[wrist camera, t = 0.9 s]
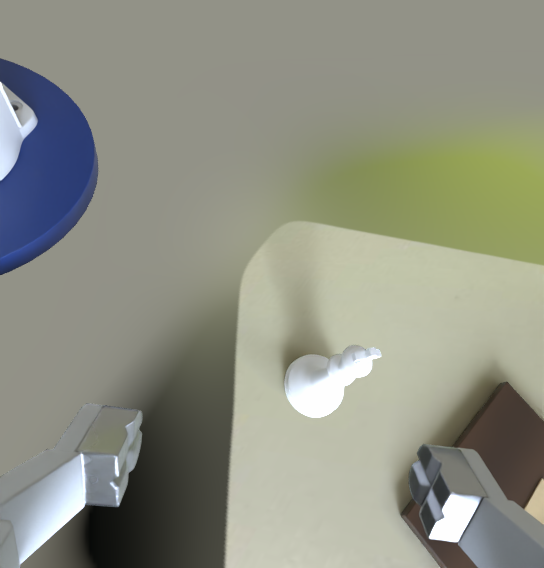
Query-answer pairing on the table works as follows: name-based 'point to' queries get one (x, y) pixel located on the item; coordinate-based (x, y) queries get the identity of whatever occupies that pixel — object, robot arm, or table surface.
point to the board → (497, 464)
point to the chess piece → (325, 379)
